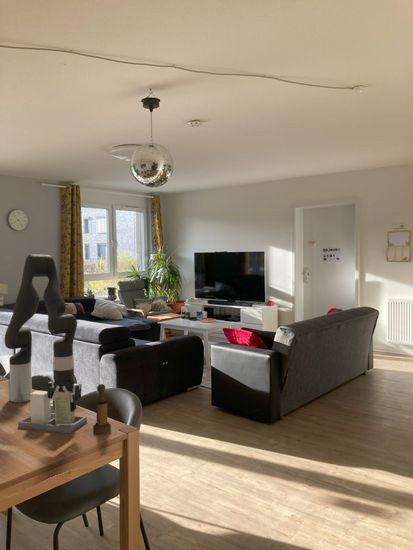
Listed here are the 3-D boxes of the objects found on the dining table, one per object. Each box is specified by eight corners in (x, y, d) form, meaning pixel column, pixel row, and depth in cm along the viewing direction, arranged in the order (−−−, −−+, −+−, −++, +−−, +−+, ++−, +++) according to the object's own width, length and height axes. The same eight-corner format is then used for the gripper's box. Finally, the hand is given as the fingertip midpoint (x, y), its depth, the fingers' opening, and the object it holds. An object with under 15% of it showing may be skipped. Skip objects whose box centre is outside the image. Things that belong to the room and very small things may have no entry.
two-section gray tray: (18, 431, 173) (17, 422, 173) (38, 419, 184) (37, 411, 184) (69, 437, 166) (69, 428, 166) (87, 425, 178) (86, 416, 178)
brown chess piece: (114, 431, 172) (113, 384, 171) (99, 436, 167) (98, 388, 166) (104, 426, 176) (103, 381, 175) (89, 431, 172) (88, 384, 171)
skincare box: (75, 420, 176) (74, 389, 175) (70, 424, 171) (70, 393, 171) (59, 420, 176) (58, 388, 176) (54, 424, 172) (53, 392, 171)
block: (31, 424, 176) (30, 393, 175) (37, 420, 180) (36, 390, 179) (44, 425, 174) (43, 394, 173) (50, 421, 178) (49, 391, 177)
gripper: (85, 365, 174) (86, 408, 175) (53, 363, 178) (54, 405, 179) (74, 371, 167) (75, 415, 168) (41, 368, 171) (42, 411, 172)
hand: (64, 410), depth 174 cm, fingers closed on skincare box, 6 cm apart
